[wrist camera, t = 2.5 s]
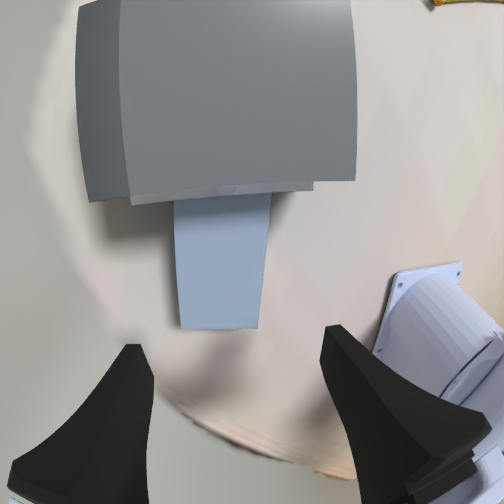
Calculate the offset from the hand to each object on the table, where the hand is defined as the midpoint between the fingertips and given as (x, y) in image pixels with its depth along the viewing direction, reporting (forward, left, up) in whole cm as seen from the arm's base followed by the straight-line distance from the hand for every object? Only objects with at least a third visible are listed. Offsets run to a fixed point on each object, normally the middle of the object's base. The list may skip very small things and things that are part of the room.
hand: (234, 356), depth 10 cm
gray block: (+10, 0, -8) cm, 13 cm away
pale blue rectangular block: (+4, 0, -8) cm, 9 cm away
